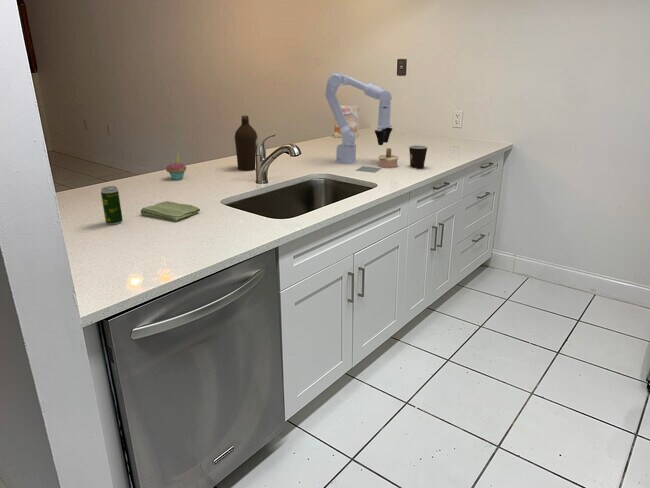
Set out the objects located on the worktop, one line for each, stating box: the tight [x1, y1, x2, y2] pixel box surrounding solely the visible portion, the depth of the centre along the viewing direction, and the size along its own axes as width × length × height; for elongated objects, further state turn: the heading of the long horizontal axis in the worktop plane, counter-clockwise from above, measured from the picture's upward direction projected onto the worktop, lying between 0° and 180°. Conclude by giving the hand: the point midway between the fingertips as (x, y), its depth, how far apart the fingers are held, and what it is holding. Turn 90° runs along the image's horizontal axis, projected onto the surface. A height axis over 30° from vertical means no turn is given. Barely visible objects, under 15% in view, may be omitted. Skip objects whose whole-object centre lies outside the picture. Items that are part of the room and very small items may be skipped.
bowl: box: [378, 158, 398, 169], centre depth 250 cm, size 8×8×4 cm
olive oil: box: [234, 114, 258, 172], centre depth 242 cm, size 11×11×25 cm
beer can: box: [100, 185, 123, 226], centre depth 169 cm, size 5×5×12 cm
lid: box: [378, 148, 399, 161], centre depth 248 cm, size 10×10×5 cm
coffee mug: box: [408, 144, 428, 170], centre depth 249 cm, size 12×9×10 cm
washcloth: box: [140, 200, 201, 222], centre depth 180 cm, size 13×18×3 cm
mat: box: [355, 165, 383, 174], centre depth 244 cm, size 10×10×1 cm
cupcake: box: [165, 152, 187, 181], centre depth 225 cm, size 9×8×12 cm
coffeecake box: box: [333, 105, 360, 139], centre depth 328 cm, size 15×7×20 cm, turn 80°
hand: (383, 143), depth 254 cm, fingers open, 7 cm apart
